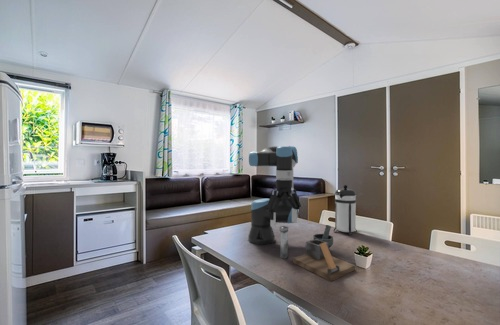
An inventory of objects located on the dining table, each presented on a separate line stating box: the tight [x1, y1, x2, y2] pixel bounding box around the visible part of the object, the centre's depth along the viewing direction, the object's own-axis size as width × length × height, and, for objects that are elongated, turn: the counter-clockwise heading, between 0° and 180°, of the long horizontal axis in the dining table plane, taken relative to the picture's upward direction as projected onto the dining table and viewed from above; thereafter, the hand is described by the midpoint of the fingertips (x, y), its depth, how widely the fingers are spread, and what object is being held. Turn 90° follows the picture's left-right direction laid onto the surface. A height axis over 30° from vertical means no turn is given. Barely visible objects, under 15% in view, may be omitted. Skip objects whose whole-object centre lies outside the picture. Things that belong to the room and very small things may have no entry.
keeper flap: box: [320, 242, 338, 273], centre depth 96 cm, size 11×4×1 cm
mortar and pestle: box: [312, 224, 334, 250], centre depth 123 cm, size 11×9×12 cm
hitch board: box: [292, 238, 356, 282], centre depth 104 cm, size 20×16×8 cm
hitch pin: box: [279, 225, 289, 259], centre depth 114 cm, size 4×4×14 cm
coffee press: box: [333, 184, 358, 236], centre depth 154 cm, size 17×16×30 cm
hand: (284, 224), depth 113 cm, fingers open, 13 cm apart
